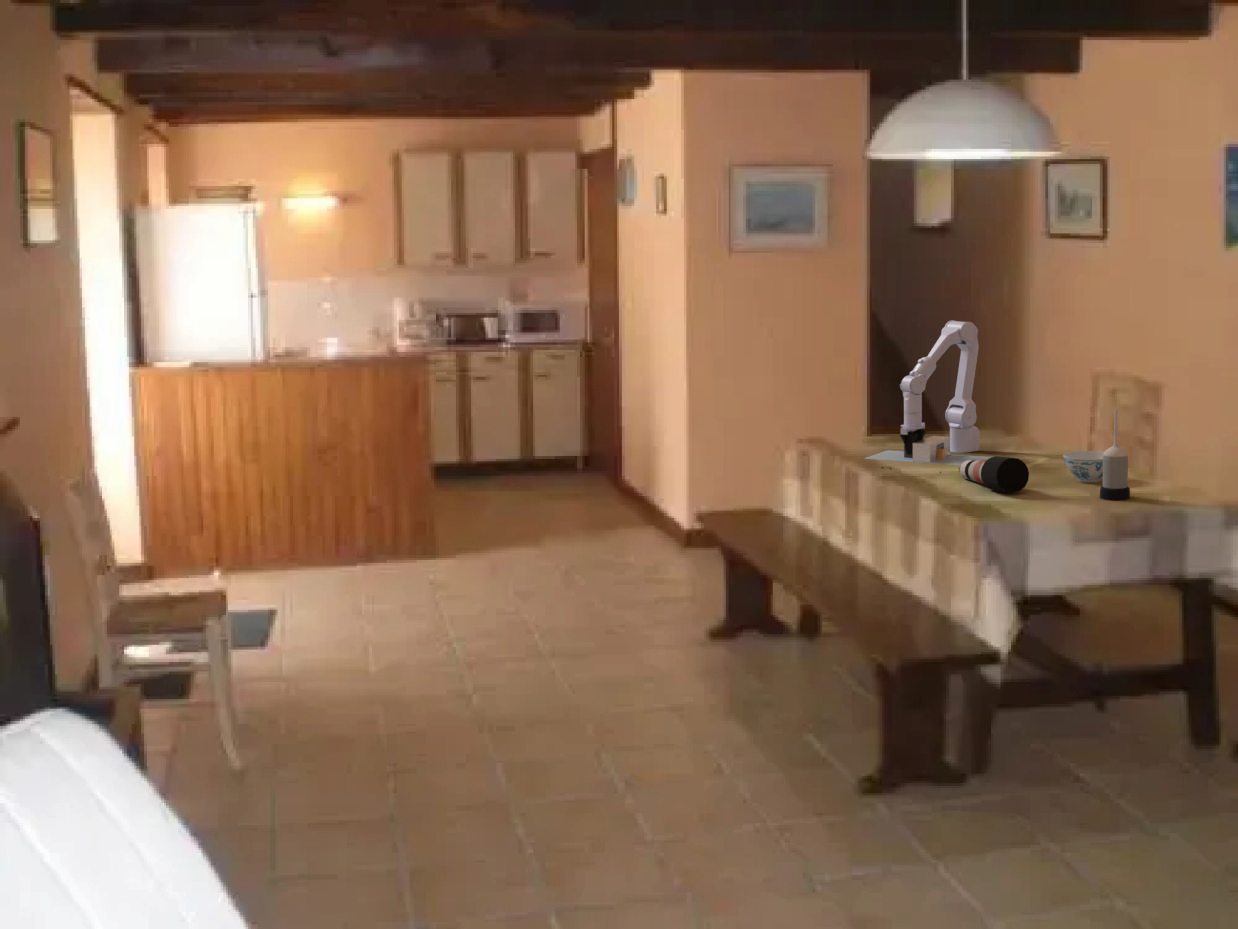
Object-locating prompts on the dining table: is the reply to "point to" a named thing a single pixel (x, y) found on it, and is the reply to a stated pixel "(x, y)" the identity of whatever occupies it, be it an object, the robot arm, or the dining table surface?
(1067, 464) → the chinaware
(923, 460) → the grey arch block
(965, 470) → the striped cylinder
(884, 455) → the board
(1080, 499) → the dining table surface
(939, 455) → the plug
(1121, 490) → the nozzle bottle
